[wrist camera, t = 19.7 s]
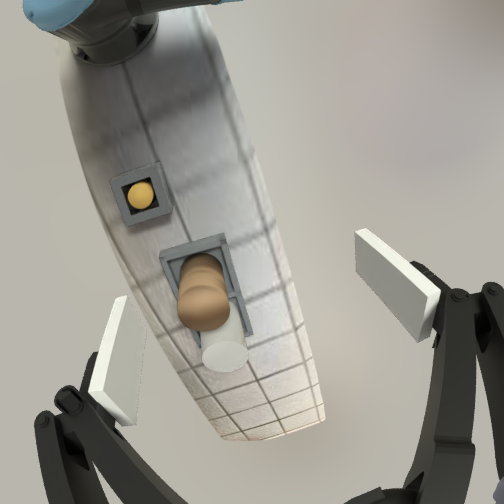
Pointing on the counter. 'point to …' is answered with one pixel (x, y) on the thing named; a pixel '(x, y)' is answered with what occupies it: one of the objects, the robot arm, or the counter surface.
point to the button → (141, 194)
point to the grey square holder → (155, 208)
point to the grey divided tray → (219, 249)
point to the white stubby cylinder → (225, 345)
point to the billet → (202, 293)
